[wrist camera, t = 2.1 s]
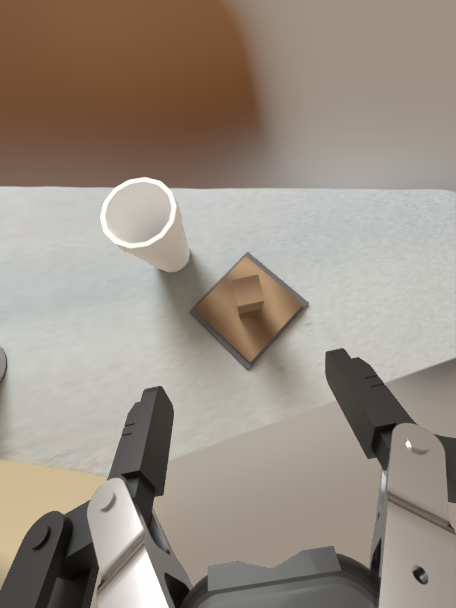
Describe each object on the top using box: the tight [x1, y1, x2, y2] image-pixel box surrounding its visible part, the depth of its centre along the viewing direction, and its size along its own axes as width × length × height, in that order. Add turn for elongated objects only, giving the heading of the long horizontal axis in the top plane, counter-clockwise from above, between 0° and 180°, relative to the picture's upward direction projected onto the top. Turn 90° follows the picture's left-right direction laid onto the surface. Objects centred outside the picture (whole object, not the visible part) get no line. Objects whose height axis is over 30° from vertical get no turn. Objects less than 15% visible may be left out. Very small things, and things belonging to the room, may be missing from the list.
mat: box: [189, 252, 308, 369], centre depth 38 cm, size 14×13×1 cm
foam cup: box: [100, 177, 190, 273], centre depth 35 cm, size 10×9×13 cm
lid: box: [195, 256, 303, 362], centre depth 32 cm, size 12×12×11 cm
